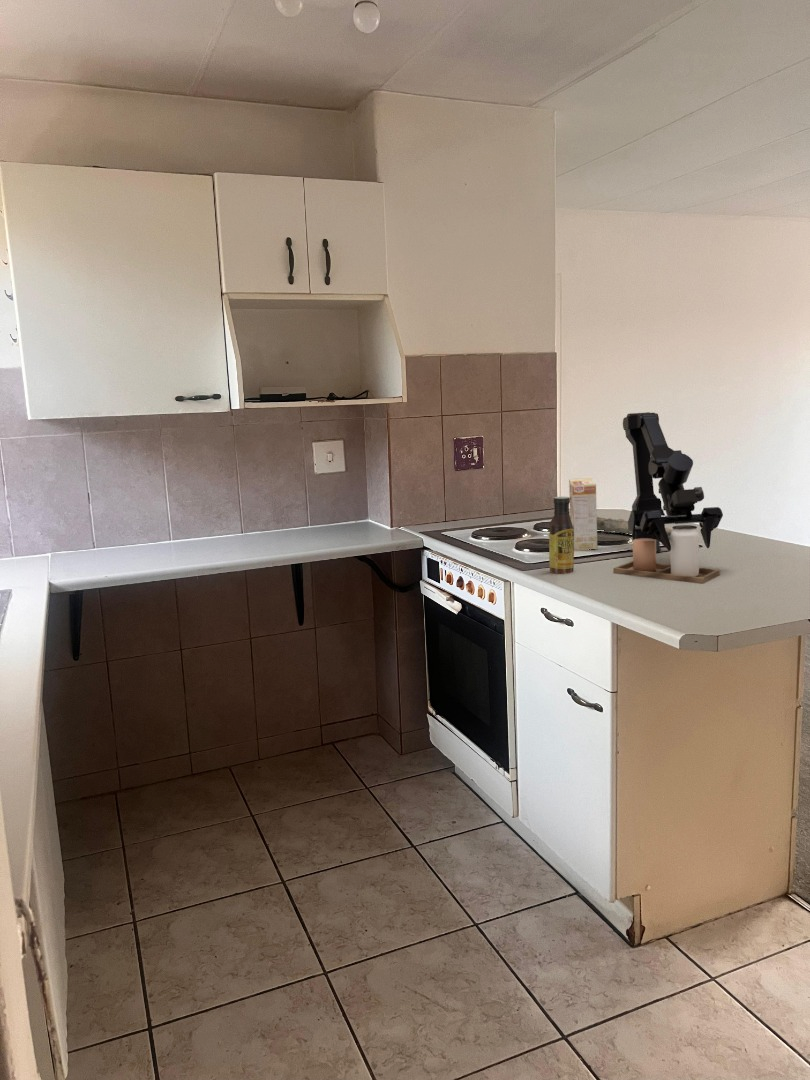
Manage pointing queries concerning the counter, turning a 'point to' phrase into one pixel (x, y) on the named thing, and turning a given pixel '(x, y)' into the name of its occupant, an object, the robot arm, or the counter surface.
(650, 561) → the jar
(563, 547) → the sauce bottle
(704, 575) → the wooden divided tray
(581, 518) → the coffeecake box
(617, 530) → the elongated rock
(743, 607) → the counter surface
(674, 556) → the can
